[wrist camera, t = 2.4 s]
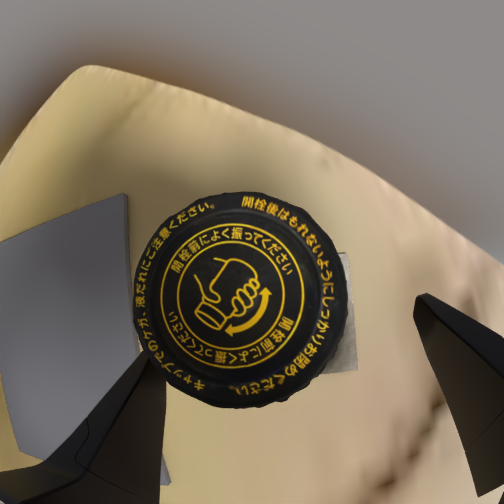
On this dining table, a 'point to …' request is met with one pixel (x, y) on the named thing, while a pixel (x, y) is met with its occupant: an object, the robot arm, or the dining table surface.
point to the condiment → (244, 301)
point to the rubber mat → (65, 322)
